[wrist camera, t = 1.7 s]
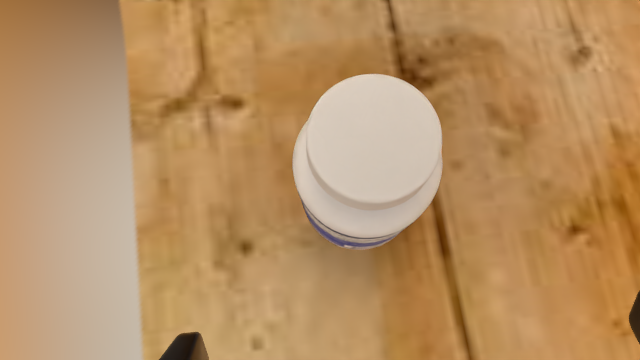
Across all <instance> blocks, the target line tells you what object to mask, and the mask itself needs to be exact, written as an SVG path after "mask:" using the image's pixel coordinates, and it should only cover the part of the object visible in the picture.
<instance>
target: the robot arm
mask: <svg viewBox="0 0 640 360" xmlns="http://www.w3.org/2000/svg"><path fill="white" fill-rule="evenodd" d="M629 322H630V326H631V328H632V330H633V332H634V334H635V336H636V338H637V340H638V342H639V344H640V291H639V292H638V294H637V297H636V299H635V302H634V304H633V307H632V309H631V312H630V315H629ZM159 360H209V357H208V354H207V351H206V348H205V345H204V342H203V339H202V336H201V334H200V333H199V332H190V333H182V334H180V335H178V336H177V337H176V338H175V340H174V341H173V342H172V343H171V345H170V346H169V347H168V349H167V350H166V351H165V353H164V354H163V355H162V356H161V358H160V359H159Z"/></svg>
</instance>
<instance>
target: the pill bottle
mask: <svg viewBox="0 0 640 360" xmlns="http://www.w3.org/2000/svg"><path fill="white" fill-rule="evenodd" d="M441 150H442V130H441V126H440V121H439V118H438V116H437V114H436V112H435V110H434V108H433V106H432V105H431V103H430V102H429V100H428V99H427V98H426V97H425V96H424V95H423V94H422V93H421V92H420V91H419V90H417V89H416V88H415V87H414V86H412V85H410V84H409V83H407V82H405V81H403V80H401V79H398V78H395V77H392V76H388V75H382V74H364V75H358V76H354V77H350V78H347V79H345V80H343V81H341V82H339V83H337V84H336V85H334V86H333V87H331V88H330V89H329V90H328V91H327V92H326V93H324V94H323V95H322V97H321V98H320V99H319V100H318V102H317V103H316V105H315V106H314V108H313V110H312V112H311V114H310V117H309V119H308V120H307V122H306V123H305V124H304V126H303V127H302V129H301V131H300V133H299V135H298V138H297V140H296V144H295V147H294V152H293V175H294V180H295V184H296V188H297V191H298V193H299V196H300V199H301V201H302V203H303V207H304V209H305V212H306V214H307V217H308V219H309V221H310V222H311V224H312V226H313V227H314V228H315V229H316V231H317V232H318V233H319V234H320V235H321V236H323V237H324V238H325V239H327V240H328V241H330V242H331V243H333V244H335V245H337V246H340V247H343V248H347V249H353V250H364V249H371V248H375V247H378V246H381V245H383V244H385V243H387V242H388V241H390V240H392V239H393V238H394V237H396V236H397V235H398V234H399V233H400V232H401V231H402V230H404V229H405V228H406V227H408V226H409V225H411V224H412V223H413V222H414V221H415V220H417V219H418V218H419V216H420V215H421V214H422V213H423V212H424V211H425V210H426V209H427V207H428V206H429V205H430V203H431V202H432V200H433V198H434V196H435V194H436V192H437V190H438V187H439V184H440V180H441V176H442V164H443V163H442V153H441Z"/></svg>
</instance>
